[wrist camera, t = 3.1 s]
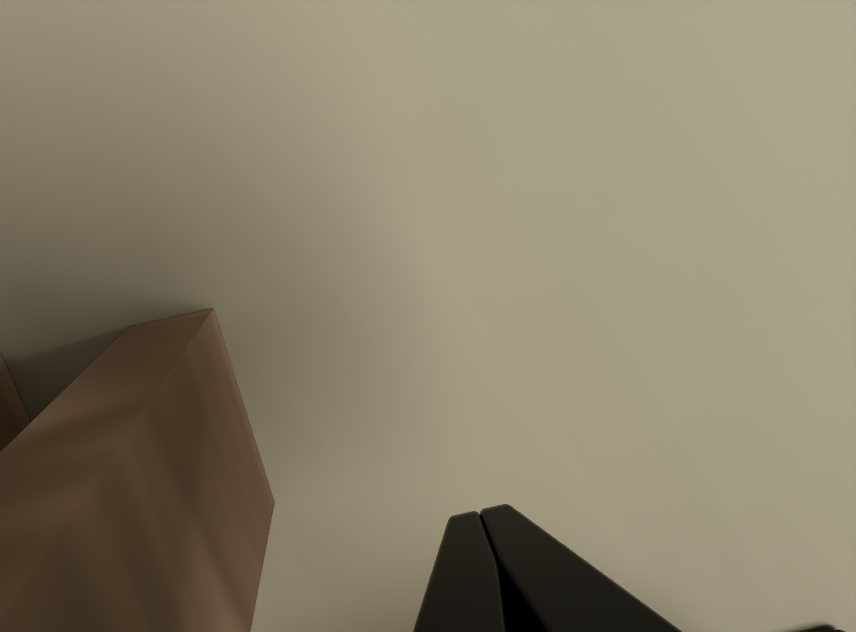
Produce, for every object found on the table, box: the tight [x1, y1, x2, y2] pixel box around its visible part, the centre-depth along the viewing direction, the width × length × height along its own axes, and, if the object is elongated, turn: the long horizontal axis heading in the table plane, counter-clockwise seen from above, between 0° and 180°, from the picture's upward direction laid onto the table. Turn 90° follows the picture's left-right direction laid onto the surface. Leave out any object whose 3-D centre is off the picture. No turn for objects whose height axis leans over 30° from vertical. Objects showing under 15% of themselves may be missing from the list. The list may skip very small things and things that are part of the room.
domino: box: [0, 308, 274, 632], centre depth 10 cm, size 2×5×9 cm, turn 11°
